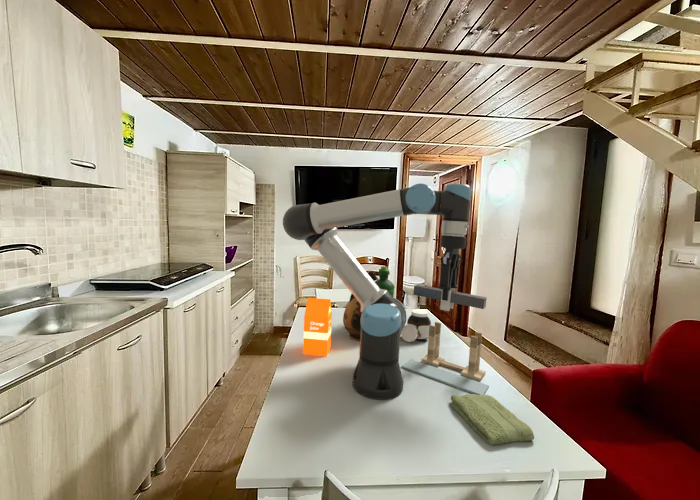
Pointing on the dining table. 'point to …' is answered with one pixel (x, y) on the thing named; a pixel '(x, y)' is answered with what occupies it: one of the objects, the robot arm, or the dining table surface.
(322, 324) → the orange juice
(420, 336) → the spread jar
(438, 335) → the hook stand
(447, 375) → the slate mat
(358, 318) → the ceramic jug
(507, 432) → the washcloth
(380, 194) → the robot arm
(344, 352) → the dining table surface
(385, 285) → the bottle
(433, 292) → the steel bar
